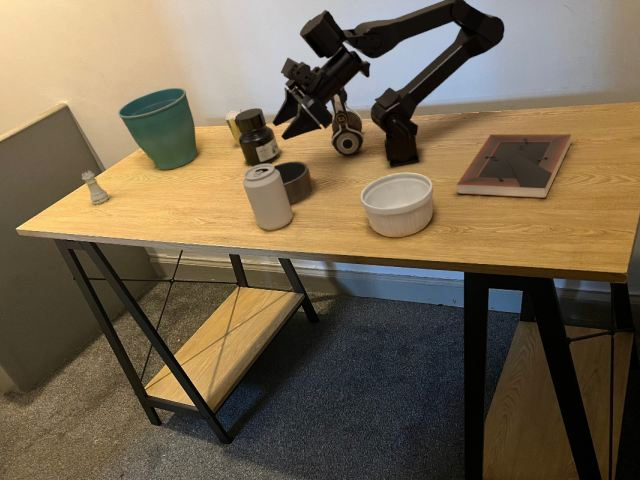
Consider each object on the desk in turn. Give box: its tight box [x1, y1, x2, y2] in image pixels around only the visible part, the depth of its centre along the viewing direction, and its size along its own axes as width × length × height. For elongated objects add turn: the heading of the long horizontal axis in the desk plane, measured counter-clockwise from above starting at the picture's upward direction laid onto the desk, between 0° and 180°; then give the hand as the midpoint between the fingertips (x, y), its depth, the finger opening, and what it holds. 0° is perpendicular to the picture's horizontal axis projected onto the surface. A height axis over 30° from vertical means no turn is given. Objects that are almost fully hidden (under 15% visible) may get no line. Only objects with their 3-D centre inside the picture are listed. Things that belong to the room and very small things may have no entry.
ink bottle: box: [235, 107, 281, 167], centre depth 144 cm, size 10×9×12 cm
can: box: [242, 163, 294, 231], centre depth 115 cm, size 8×8×12 cm
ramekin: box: [360, 171, 434, 238], centre depth 106 cm, size 13×13×7 cm
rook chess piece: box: [81, 170, 110, 205], centre depth 147 cm, size 4×4×8 cm
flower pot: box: [117, 87, 199, 171], centre depth 155 cm, size 18×18×17 cm
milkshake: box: [224, 110, 242, 147], centre depth 156 cm, size 4×5×10 cm
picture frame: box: [456, 133, 572, 199], centre depth 114 cm, size 16×2×22 cm
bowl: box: [273, 160, 315, 206], centre depth 127 cm, size 11×11×5 cm
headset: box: [330, 86, 365, 157], centre depth 135 cm, size 17×8×20 cm, turn 1°
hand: (278, 131), depth 117 cm, fingers open, 9 cm apart
